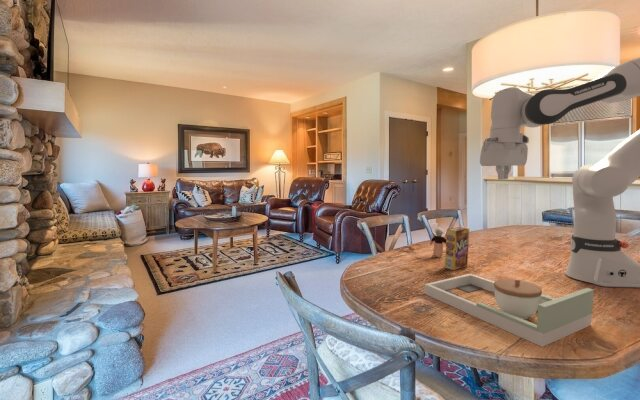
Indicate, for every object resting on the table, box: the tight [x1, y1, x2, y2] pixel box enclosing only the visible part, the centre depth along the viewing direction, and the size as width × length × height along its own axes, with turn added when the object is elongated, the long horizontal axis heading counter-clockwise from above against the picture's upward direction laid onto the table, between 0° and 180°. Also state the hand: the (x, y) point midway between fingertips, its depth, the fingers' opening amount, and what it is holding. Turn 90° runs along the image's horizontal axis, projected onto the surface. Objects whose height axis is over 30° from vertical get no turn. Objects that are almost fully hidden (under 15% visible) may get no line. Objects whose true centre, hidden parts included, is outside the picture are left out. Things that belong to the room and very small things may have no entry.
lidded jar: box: [493, 278, 543, 320], centre depth 87 cm, size 11×11×9 cm
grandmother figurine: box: [429, 227, 446, 259], centre depth 141 cm, size 8×4×13 cm, turn 68°
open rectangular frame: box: [476, 287, 595, 334], centre depth 83 cm, size 16×21×6 cm
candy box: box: [444, 226, 470, 271], centre depth 127 cm, size 9×4×15 cm, turn 123°
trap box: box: [423, 273, 593, 348], centre depth 91 cm, size 34×20×3 cm, turn 28°
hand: (502, 179), depth 113 cm, fingers closed
